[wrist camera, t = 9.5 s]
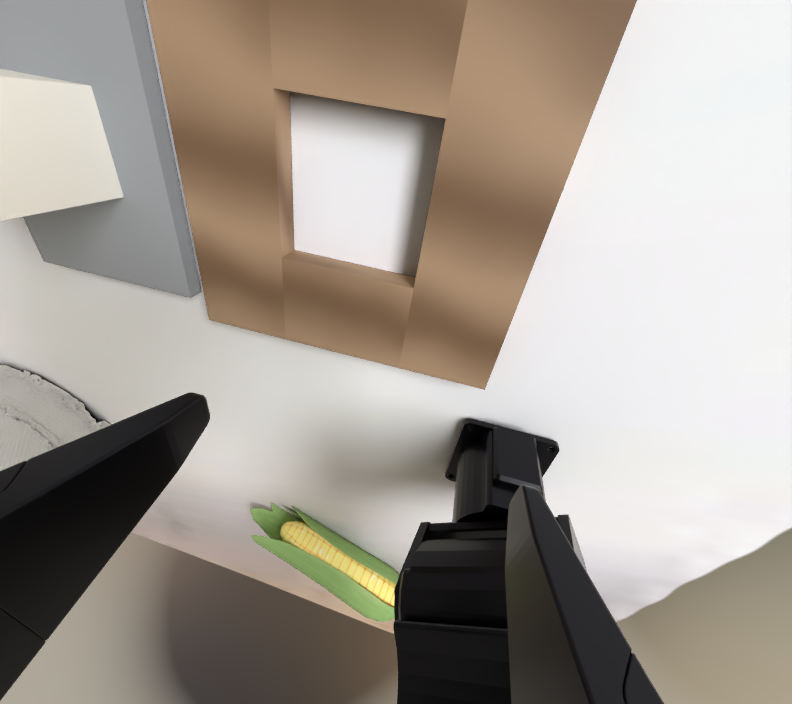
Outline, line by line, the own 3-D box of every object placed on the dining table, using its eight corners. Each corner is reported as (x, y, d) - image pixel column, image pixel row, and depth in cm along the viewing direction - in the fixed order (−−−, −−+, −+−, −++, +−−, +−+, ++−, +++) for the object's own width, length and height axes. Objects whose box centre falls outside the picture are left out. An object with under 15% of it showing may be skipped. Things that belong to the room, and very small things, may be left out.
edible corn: (384, 630, 38) (406, 639, 34) (231, 533, 34) (239, 533, 31) (402, 579, 41) (424, 583, 38) (265, 487, 38) (274, 482, 34)
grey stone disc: (169, 499, 43) (122, 555, 37) (39, 471, 46) (-23, 518, 40) (93, 369, 32) (10, 420, 26) (-71, 344, 35) (-176, 385, 29)
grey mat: (201, 291, 23) (190, 297, 22) (58, 256, 24) (43, 261, 23) (128, -70, 14) (105, -83, 13) (-97, -100, 15) (-131, -113, 14)
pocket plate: (484, 374, 22) (484, 389, 20) (223, 309, 23) (209, 319, 22) (644, -46, 11) (663, -67, 10) (155, -105, 13) (120, -129, 12)
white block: (123, 197, 19) (-1, 221, 14) (46, 179, 20) (-99, 197, 15) (91, 86, 16) (-78, 68, 11) (2, 69, 17) (-197, 45, 12)
